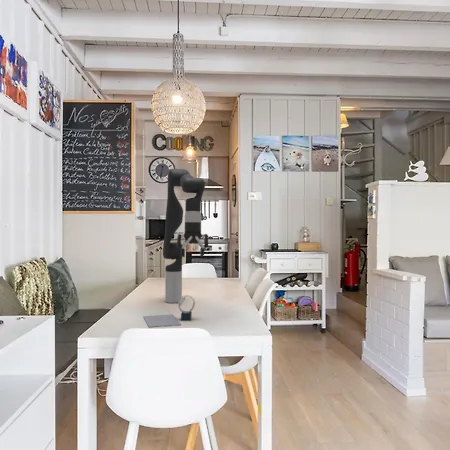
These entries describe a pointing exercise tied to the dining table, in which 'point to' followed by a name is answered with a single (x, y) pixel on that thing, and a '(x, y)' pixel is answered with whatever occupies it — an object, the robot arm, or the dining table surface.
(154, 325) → the mat
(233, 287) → the dining table surface
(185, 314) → the watch
